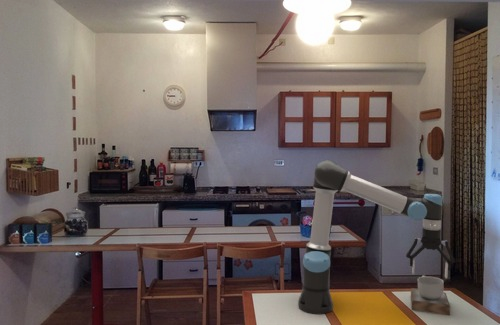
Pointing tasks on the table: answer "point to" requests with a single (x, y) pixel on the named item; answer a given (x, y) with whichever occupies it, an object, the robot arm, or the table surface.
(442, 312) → the walnut riser
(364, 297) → the table surface
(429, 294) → the teacup
